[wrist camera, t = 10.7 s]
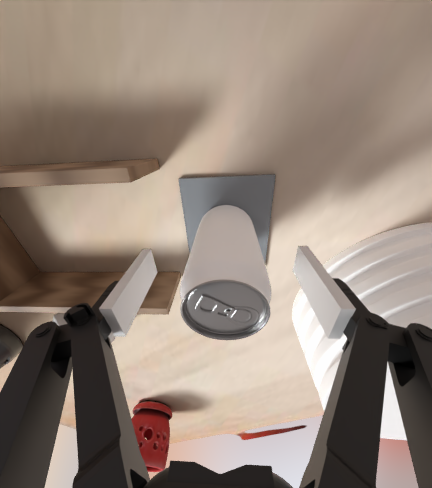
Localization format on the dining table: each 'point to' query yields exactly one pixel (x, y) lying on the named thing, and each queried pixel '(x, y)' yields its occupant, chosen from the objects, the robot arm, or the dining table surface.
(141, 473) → the robot arm
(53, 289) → the walnut u-shaped enclosure
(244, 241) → the can
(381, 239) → the plate stack
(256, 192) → the slate mat
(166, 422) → the plant pot
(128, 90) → the dining table surface
